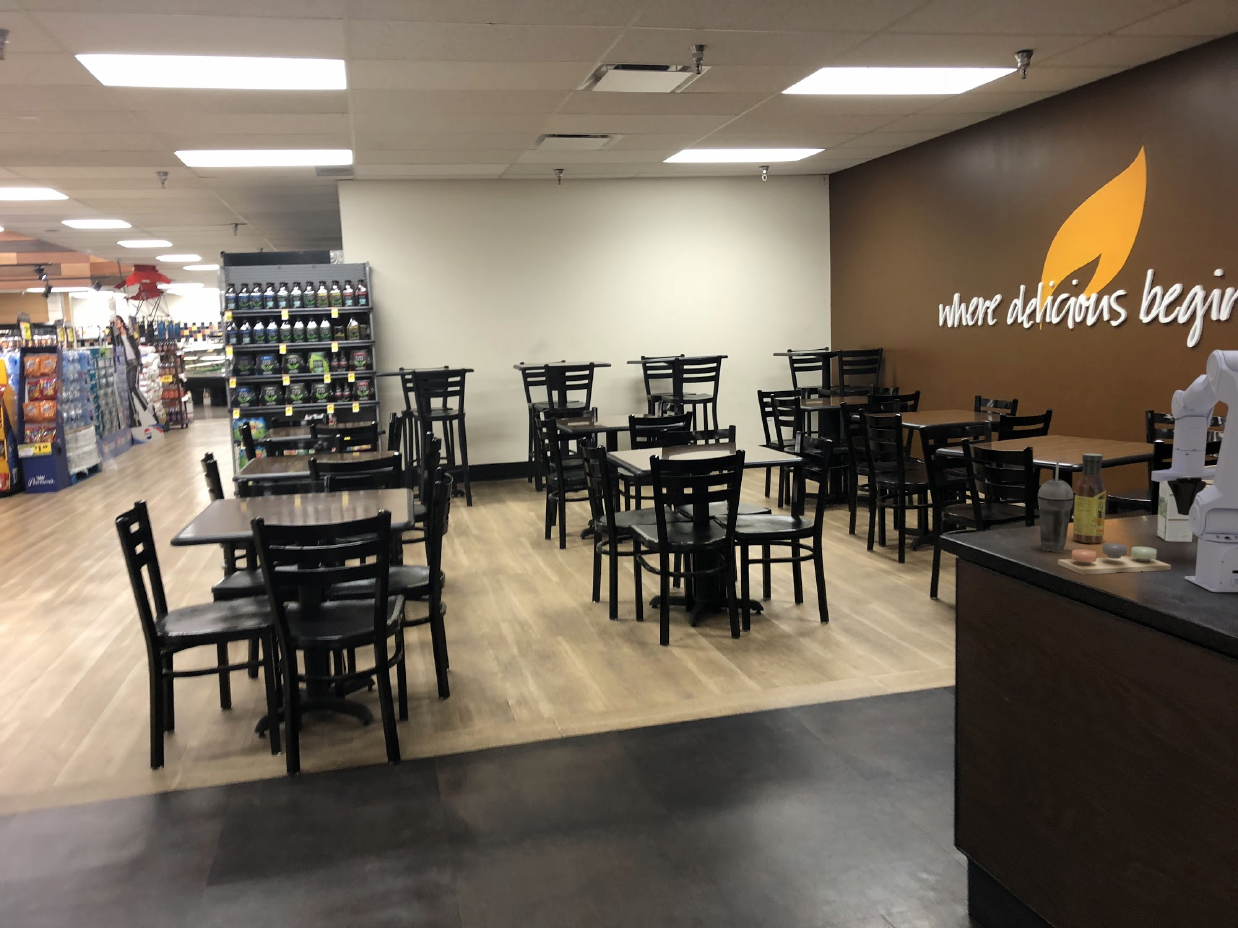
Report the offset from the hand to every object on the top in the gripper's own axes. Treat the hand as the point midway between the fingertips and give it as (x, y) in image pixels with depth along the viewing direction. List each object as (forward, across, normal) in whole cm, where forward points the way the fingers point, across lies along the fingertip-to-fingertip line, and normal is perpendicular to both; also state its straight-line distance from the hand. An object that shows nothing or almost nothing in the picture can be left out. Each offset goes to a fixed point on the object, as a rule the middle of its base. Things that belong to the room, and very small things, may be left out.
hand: (1184, 514), depth 193 cm
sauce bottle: (+10, +9, -18) cm, 22 cm away
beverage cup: (+10, +21, -12) cm, 26 cm away
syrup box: (+10, -11, -16) cm, 22 cm away
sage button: (+8, +11, +4) cm, 15 cm away
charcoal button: (+7, +18, +4) cm, 20 cm away
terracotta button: (+8, +24, +4) cm, 26 cm away
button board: (+9, +18, +4) cm, 21 cm away
